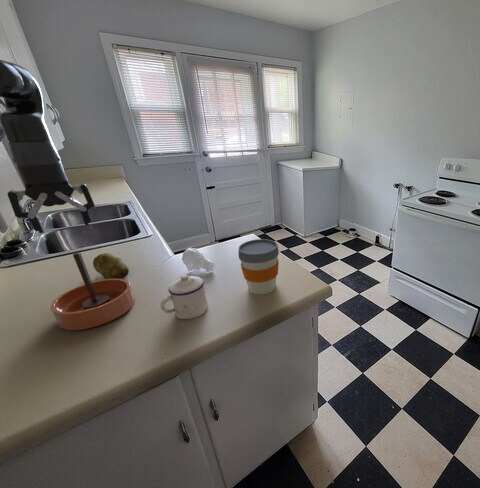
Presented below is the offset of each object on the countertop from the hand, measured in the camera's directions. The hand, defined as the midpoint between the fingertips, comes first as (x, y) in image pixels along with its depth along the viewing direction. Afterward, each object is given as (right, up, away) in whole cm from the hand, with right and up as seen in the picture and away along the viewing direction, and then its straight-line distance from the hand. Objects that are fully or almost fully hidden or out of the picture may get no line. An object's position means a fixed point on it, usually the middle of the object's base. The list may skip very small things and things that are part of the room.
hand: (65, 228), depth 69 cm
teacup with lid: (+26, -24, +10) cm, 37 cm away
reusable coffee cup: (+45, -19, +23) cm, 54 cm away
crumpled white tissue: (+20, -14, +33) cm, 41 cm away
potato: (-11, -16, +29) cm, 35 cm away
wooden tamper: (0, -23, +10) cm, 25 cm away
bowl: (0, -24, +10) cm, 26 cm away
